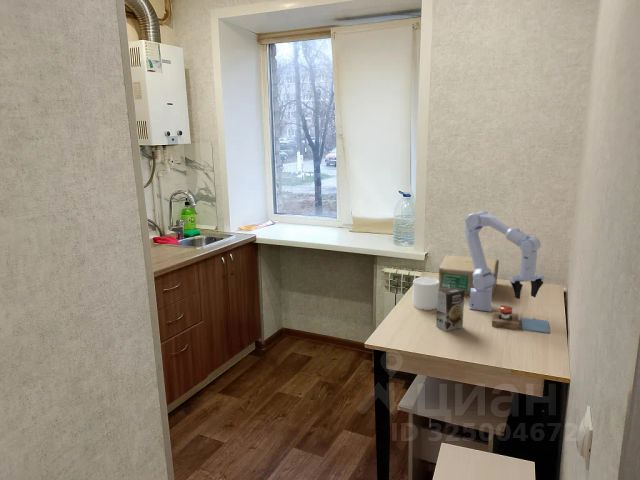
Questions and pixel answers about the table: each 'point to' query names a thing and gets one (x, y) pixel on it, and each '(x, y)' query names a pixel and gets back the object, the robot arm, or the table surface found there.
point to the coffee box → (450, 308)
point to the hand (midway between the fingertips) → (525, 297)
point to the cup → (425, 293)
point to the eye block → (505, 321)
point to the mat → (535, 325)
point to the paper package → (462, 273)
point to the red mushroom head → (505, 312)
